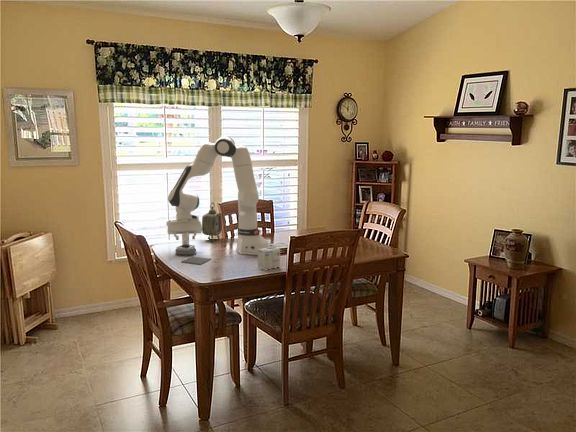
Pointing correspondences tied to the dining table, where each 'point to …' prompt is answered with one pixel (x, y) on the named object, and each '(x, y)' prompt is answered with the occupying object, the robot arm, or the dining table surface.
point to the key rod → (185, 239)
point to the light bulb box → (268, 258)
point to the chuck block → (185, 250)
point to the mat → (196, 260)
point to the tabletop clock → (212, 223)
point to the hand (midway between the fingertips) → (185, 239)
